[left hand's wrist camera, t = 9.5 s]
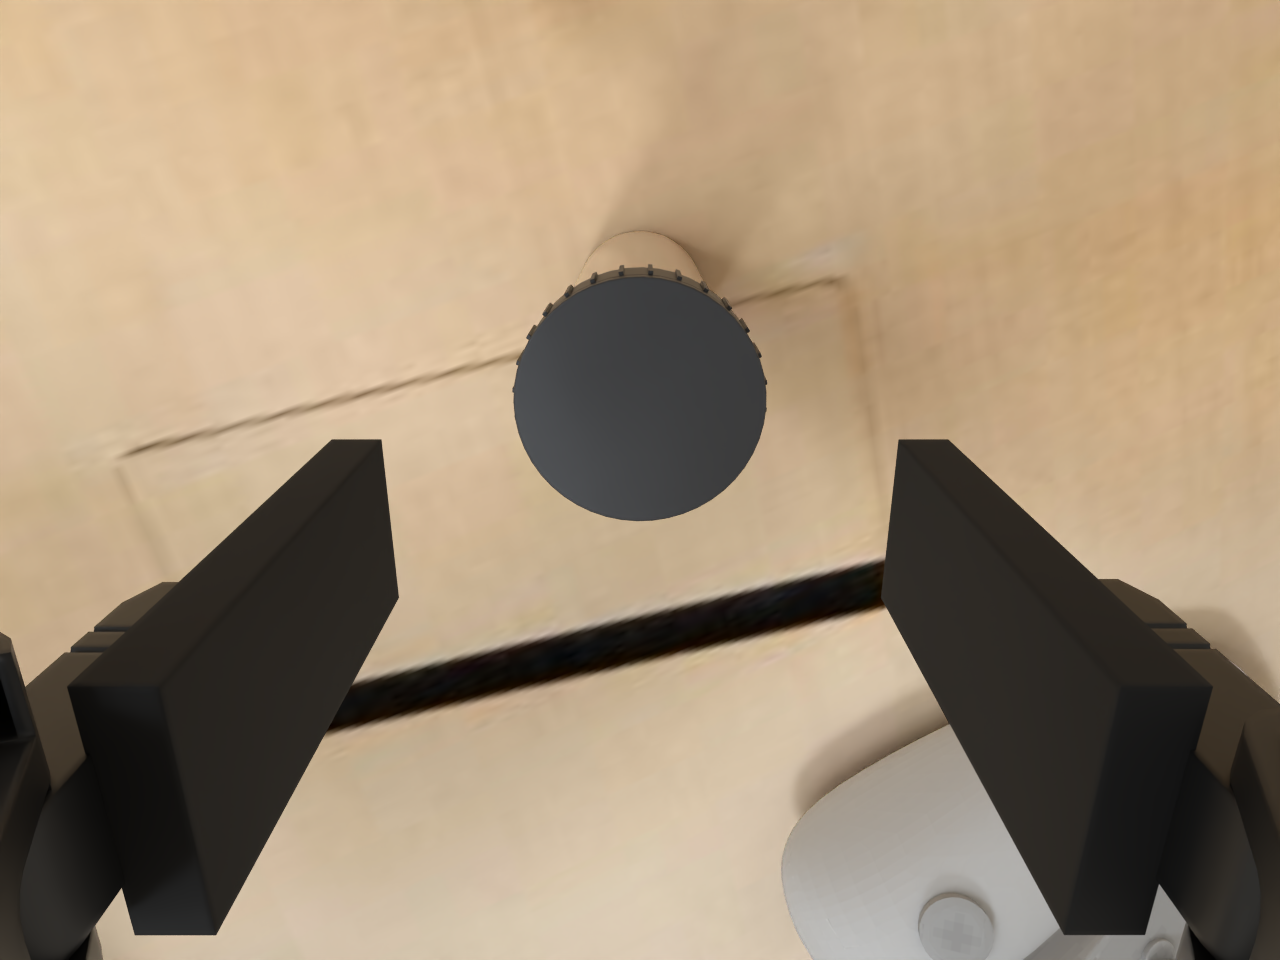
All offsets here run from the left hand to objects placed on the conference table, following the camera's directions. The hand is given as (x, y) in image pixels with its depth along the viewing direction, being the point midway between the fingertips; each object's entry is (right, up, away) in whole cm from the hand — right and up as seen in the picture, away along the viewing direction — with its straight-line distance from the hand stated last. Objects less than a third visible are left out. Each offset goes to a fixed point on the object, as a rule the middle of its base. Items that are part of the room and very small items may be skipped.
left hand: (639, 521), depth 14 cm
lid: (0, +3, +7) cm, 7 cm away
